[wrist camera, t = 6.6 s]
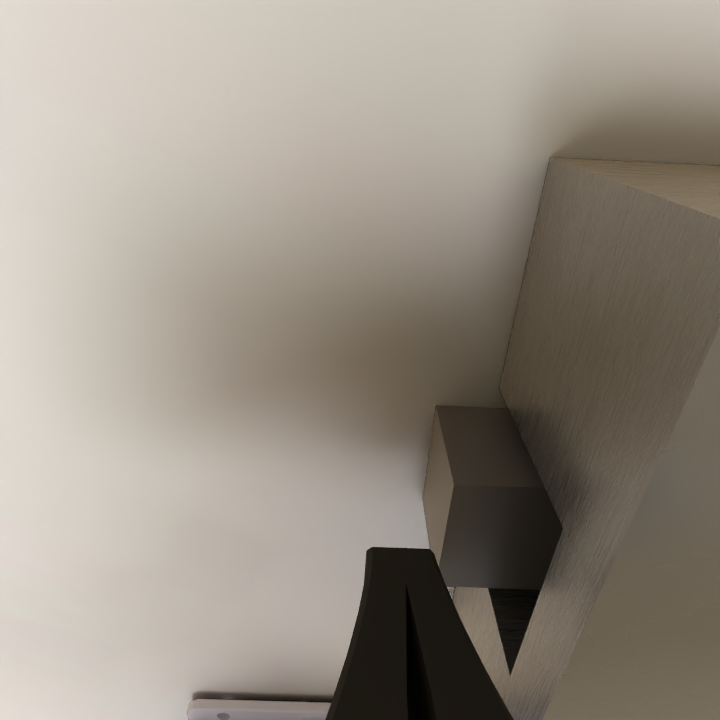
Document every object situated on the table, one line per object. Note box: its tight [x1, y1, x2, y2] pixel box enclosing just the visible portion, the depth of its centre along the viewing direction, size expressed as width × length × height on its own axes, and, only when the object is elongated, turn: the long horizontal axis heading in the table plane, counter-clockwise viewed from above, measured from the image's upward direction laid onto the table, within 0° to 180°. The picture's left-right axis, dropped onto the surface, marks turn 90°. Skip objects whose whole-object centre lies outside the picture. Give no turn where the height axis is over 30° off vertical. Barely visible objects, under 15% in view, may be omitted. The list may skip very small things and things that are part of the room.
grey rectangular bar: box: [423, 406, 563, 590], centre depth 13 cm, size 11×3×3 cm, turn 88°
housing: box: [453, 158, 720, 720], centre depth 11 cm, size 5×16×6 cm, turn 177°
